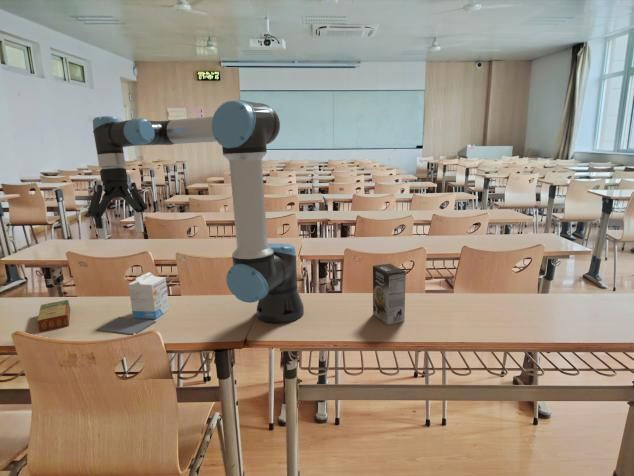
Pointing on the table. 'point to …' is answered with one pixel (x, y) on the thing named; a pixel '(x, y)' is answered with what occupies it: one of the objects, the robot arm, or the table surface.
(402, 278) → the coffee box
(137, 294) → the ink box
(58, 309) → the carton
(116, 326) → the rubber mat
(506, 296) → the table surface
